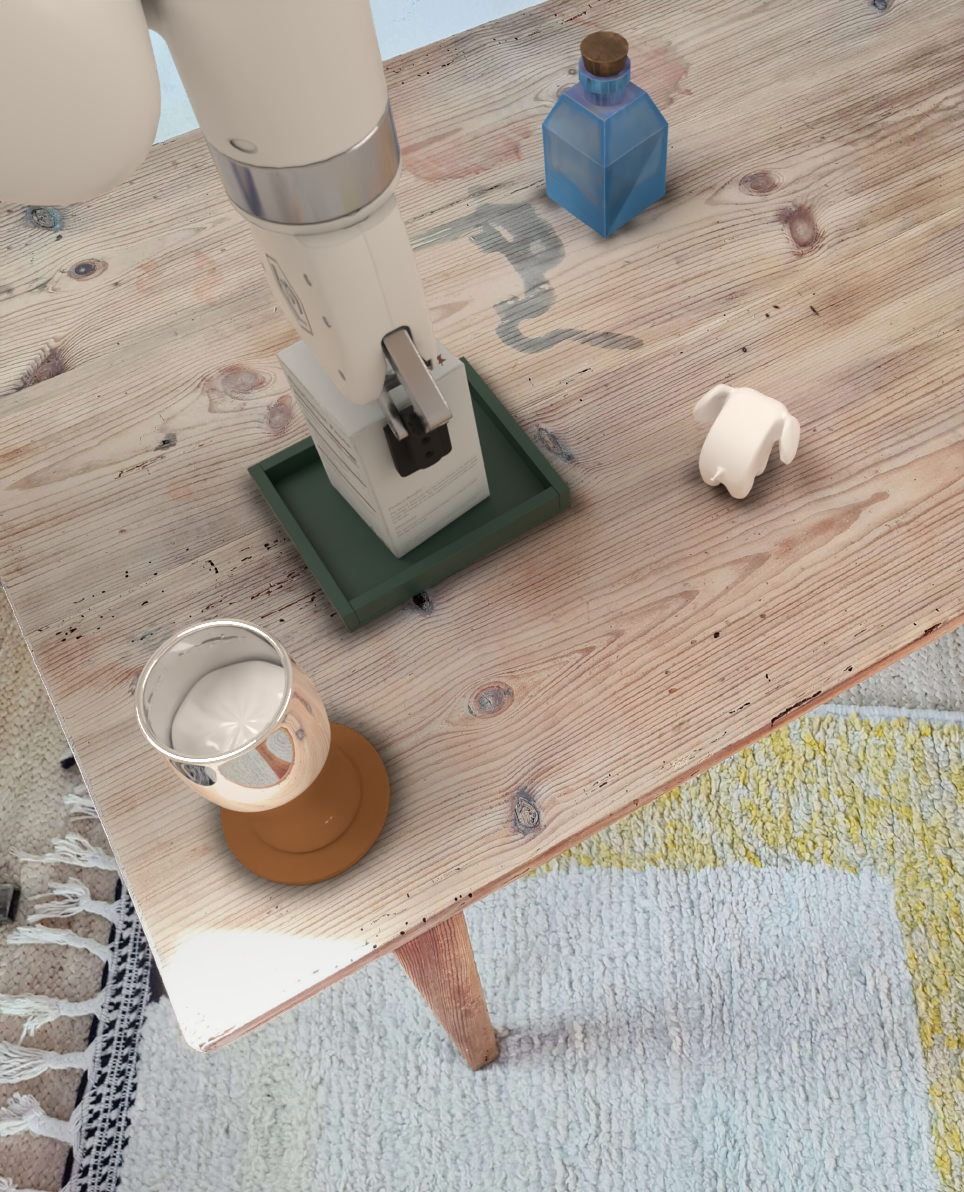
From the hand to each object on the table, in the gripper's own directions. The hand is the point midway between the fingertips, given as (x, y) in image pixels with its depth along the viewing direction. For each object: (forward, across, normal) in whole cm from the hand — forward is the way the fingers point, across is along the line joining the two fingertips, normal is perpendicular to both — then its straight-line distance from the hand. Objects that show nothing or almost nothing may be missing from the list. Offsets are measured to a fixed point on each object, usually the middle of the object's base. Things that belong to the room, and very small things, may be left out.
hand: (384, 406), depth 60 cm
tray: (+9, 0, 0) cm, 9 cm away
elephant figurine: (+9, +10, +18) cm, 23 cm away
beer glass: (+9, +14, -14) cm, 22 cm away
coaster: (+9, +14, -14) cm, 22 cm away
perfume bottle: (+9, -15, +25) cm, 31 cm away
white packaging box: (+9, 0, 0) cm, 9 cm away
